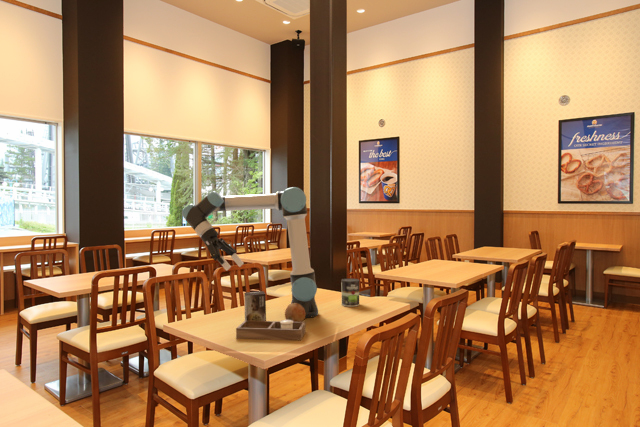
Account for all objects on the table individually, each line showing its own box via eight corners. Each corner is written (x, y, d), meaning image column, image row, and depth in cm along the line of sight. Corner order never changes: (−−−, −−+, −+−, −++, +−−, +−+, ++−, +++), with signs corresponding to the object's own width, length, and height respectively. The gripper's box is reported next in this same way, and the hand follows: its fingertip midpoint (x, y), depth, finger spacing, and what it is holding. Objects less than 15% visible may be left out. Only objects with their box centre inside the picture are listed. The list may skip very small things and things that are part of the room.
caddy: (245, 331, 181) (244, 320, 181) (305, 333, 178) (305, 322, 178) (236, 340, 169) (236, 328, 169) (300, 342, 166) (300, 330, 166)
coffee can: (362, 306, 228) (362, 280, 228) (344, 307, 225) (344, 281, 225) (356, 302, 238) (356, 277, 238) (339, 303, 235) (338, 278, 235)
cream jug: (281, 333, 176) (281, 319, 176) (294, 333, 175) (294, 319, 175) (278, 337, 170) (278, 323, 170) (292, 337, 170) (291, 323, 170)
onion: (308, 322, 196) (307, 301, 196) (302, 327, 187) (301, 305, 186) (288, 320, 199) (288, 300, 198) (282, 326, 189) (281, 304, 189)
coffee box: (264, 325, 191) (263, 290, 191) (266, 329, 185) (266, 293, 185) (244, 327, 188) (244, 292, 188) (246, 331, 182) (245, 294, 182)
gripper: (214, 236, 204) (241, 268, 201) (187, 239, 180) (216, 276, 177) (224, 226, 203) (251, 258, 200) (198, 228, 179) (228, 264, 175)
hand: (235, 266), depth 188 cm, fingers open, 13 cm apart
